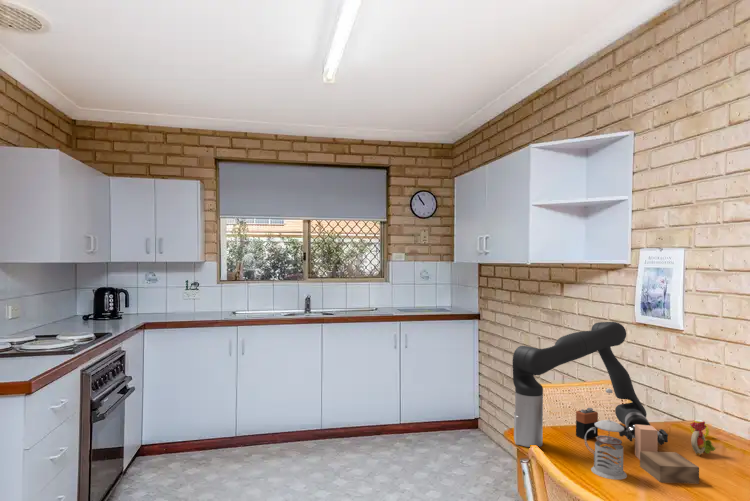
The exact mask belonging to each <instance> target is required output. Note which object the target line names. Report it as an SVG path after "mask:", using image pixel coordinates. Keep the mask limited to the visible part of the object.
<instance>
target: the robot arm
mask: <svg viewBox="0 0 750 501" xmlns="http://www.w3.org/2000/svg"><path fill="white" fill-rule="evenodd" d="M626 337H627V330H626V328H625V327H624V325H622V324H621V323H620V322H616V321H604V322H603V321H600V322H595V323H594V324H592V326H591V329H590V330H584V331H582V330H581V331H578V332H577V331H576V332H573V333H572V332H571V333H568V334H565V335H563V336H561V337H559V338H558V339H557V340H556V341H555V343H554V345H552V346H549V347H545V348H538V347H532V346H529V345H528V346H527V345H520V346H517V348H515V350H514V351H513V352H514V353H513V355H512V381H513V385H514V389H515V392H514V393H515V399H514V400H515V401H514V404H515V405H514V413H513V414H514V416H513V440H514V442H515V443H514V444H515V445H517V446H522V447H526V448H531V447H530V445H537V446H539V447H538V448H541V447H542V446H543V438H544V437H543V433H544V432H543V430H544V429H543V428H544V427H543V425H544V424H543V422H544V421H543V420H544V418H543V416H544V412H543V410H544V387H543V386H542V384H541V383H540V382H538V380H536V378H535V376H541V375H545V374H546V373H547V372H550V371H551V370H553V369H555V368H557V367H559V366H561V365H564V364H567V363H570V362H572V361H577V360H578V359H581V358H584V357H586V356H589V355H591V354H594V353H596V352H598V353H599V356H600V359H601V360H602V362H603V364H604V366H605V368H606V371H607V373H608V376H609V379H610V382H611V386H612V388H613V392H614V395H615V397H616V398H617V399H620V400H628V401H631V402H626V403H621V404H617V406H615V410H614V413H615V415H616V418H617V420H618V421H619V422H620V423H619V424H620V425H621V426H622V427H624V430H623V431H622V432H618V435H619V437H622V438H623V437H625V438H626V440H629V441H630V442H633V439H635V424H638V425H651V423H650V422H649V420H648V419H647V411H646V409H645V406H644V405H643V403H641V401H640V399H639V397H638V396H637V394H636V392H635V389H634V386H633V382H632V379H631V377H630V374H629V372H628V371H627V369H626V367H625V366H624V365H623V364H622V363H621V362H620V361H619V360H618V359H617V357H616V356H615V354H614V352H613V351H612V348H613V347H617V346H620V345H622V344H623V343H624V342H625V341H626V339H627V338H626ZM611 347H612V348H611ZM668 439H669V435H668V432H666V431H665V430H664V429H663V428H661V429H659V430H657V444H658V446H663V445H664V444H665V443H669V440H668Z"/></svg>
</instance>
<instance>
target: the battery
mask: <svg viewBox="0 0 750 501" xmlns="http://www.w3.org/2000/svg"><path fill="white" fill-rule="evenodd" d="M598 417H599V413H598V412H597V411H595V410H594V408H592V407H587V408H586V409H580V410H576V411H575V436H576V437H578V438H581V439H582V440H585V438H584V437H585V434H586V432H587V431H588V430H589V429H590V428H593V427H594V428H593V429H595V428H596V433H594V430H590V431H589V432H588V433H587V435H586V440H590V439H594V438H595V439H596V437H597V436H599V435H598V432H599V428H597V427H595V424H594V423H596V422H598V421H599V418H598Z"/></svg>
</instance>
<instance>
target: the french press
mask: <svg viewBox="0 0 750 501" xmlns="http://www.w3.org/2000/svg"><path fill="white" fill-rule="evenodd" d="M613 392H614V391H613V390H612V388H606V389H605V393H608V394H613ZM594 424H595V427H597V428H598V430H602V431H605V432H612V433H613V432H614V433H619V432H622V431H623V430H624V427H625V426H624V427H622V426H621V425H620V424H621V423H618V422H616V421H614V420H610V419H606V420H605V419H601V420H598V422H596V423H594ZM593 428H594V427H593ZM593 428H590V429H589V430H588V431H587V432H586V434H585V437H584V438H585V439H584V445H585V447H586V449H588V451H589V452H590V453H592V454H593V466H592V467H591V468H590V470H591V472H592V473H593V474H594V475H596V476H599V477H602V478H605V479H610V480H618V481H619V480H624V479H625V480H626V478H627V477H628V475H627V473H626V472H625V471H624V446H623V445H622V444H623V441H622V440H621V439H619V438H618V437H615V436H610V435H607V434H606V435H598V436H597V437H596V438H595V439H596V441H595V442H594V449H592V448H591V447H590V446H589V444H588V442H587V439H586V435H587V433H588V432H589V431H590V430H594V433H596V428H595V429H593ZM602 445H603V446H602ZM607 445H608V446H607ZM605 453H607V454H605ZM604 457H605V458H604Z"/></svg>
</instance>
